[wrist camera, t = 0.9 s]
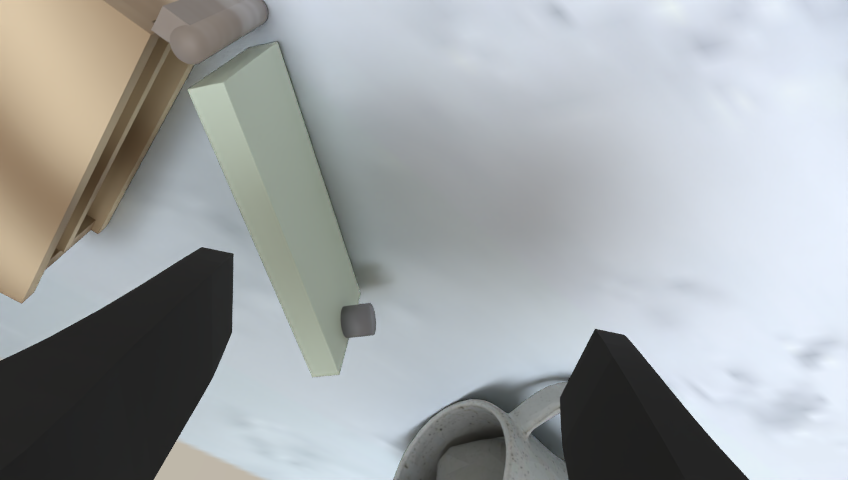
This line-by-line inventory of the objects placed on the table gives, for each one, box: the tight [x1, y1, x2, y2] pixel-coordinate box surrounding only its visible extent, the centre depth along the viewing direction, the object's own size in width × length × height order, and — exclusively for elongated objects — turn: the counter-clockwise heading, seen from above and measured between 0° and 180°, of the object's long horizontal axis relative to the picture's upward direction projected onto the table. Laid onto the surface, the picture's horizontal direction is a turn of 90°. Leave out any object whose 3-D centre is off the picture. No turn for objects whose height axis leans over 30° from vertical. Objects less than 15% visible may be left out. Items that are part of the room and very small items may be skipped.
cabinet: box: [0, 0, 268, 303], centre depth 16 cm, size 12×9×5 cm
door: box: [187, 42, 376, 377], centre depth 18 cm, size 10×2×5 cm, turn 11°
